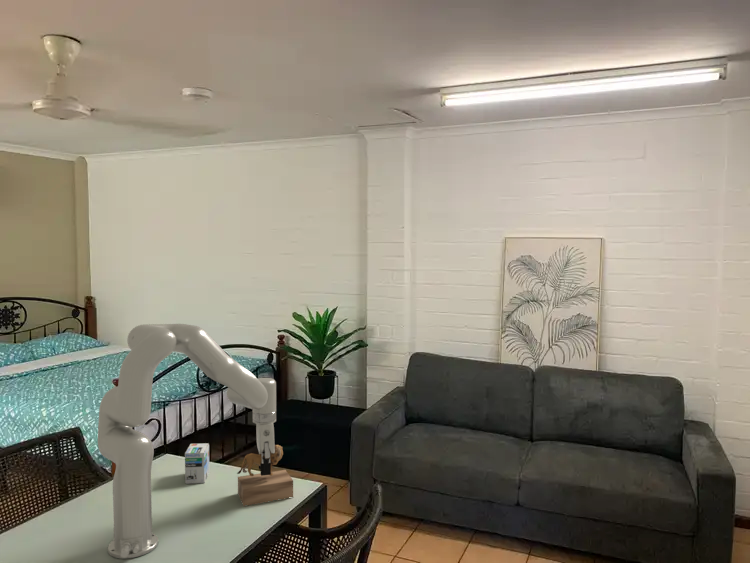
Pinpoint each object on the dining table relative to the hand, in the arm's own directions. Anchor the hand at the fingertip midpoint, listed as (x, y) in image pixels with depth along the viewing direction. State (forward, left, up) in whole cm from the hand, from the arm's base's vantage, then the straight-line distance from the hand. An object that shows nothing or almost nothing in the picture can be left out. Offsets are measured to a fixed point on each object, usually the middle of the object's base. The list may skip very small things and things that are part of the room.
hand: (264, 471), depth 191 cm
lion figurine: (+1, +1, -1) cm, 1 cm away
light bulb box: (+22, +21, -8) cm, 32 cm away
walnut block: (0, 0, -8) cm, 8 cm away
